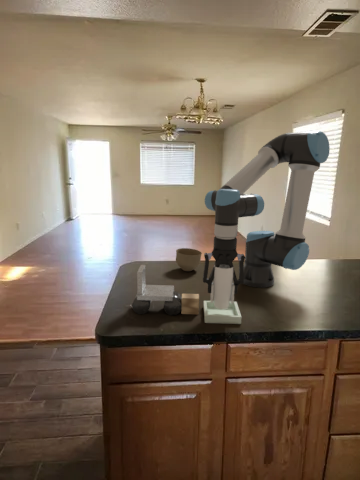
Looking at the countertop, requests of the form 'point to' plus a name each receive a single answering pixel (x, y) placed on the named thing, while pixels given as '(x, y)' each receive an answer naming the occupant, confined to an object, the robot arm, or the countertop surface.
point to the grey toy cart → (155, 296)
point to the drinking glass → (222, 286)
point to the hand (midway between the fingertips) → (221, 301)
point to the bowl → (188, 258)
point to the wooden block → (190, 304)
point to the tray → (221, 314)
